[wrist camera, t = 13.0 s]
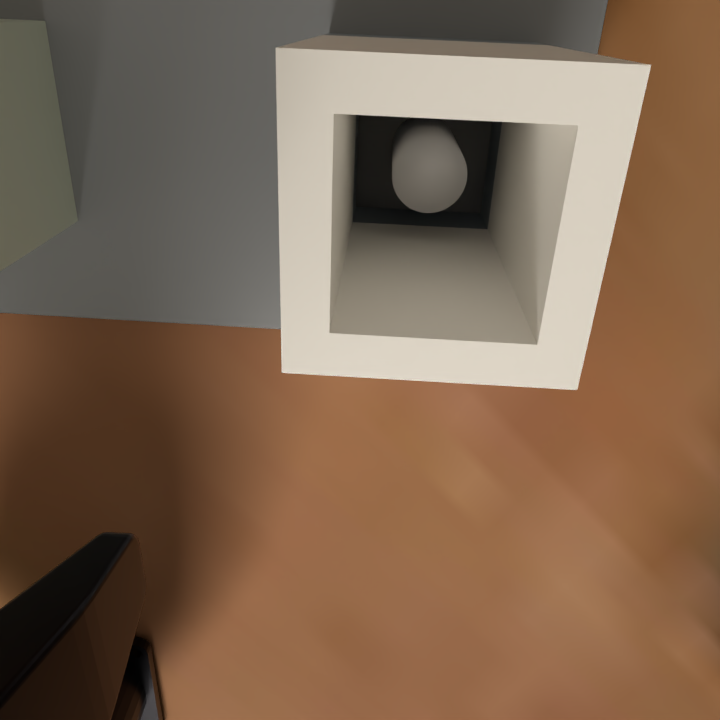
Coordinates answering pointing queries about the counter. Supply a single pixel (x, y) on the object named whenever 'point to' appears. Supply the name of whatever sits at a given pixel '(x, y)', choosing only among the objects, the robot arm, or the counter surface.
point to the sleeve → (450, 229)
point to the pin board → (205, 145)
